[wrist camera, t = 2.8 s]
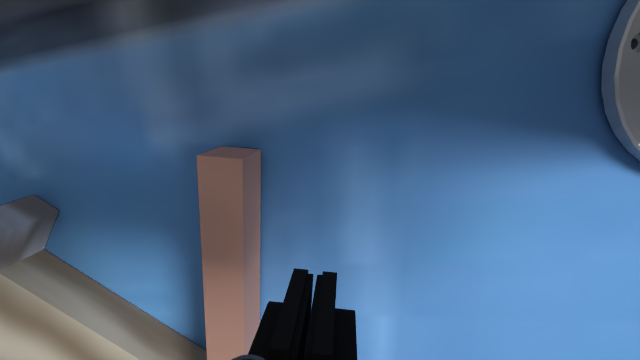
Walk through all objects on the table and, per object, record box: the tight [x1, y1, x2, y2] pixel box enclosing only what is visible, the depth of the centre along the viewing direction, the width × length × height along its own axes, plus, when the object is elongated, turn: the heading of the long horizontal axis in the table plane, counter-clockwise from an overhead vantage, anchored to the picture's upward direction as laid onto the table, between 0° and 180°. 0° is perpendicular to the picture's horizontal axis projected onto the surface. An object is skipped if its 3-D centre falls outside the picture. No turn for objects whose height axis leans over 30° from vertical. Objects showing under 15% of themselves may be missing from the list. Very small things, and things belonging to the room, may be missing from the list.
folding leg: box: [197, 146, 261, 360], centre depth 18 cm, size 16×3×4 cm, turn 176°
